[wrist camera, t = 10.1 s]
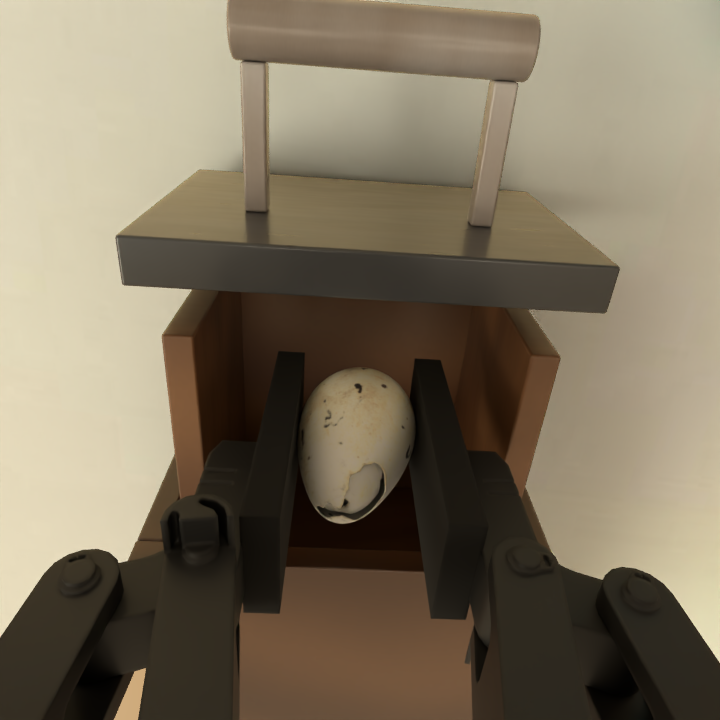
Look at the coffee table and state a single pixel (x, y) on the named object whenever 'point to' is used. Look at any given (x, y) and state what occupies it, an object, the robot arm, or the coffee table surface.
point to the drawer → (364, 258)
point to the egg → (354, 442)
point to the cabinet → (346, 635)
